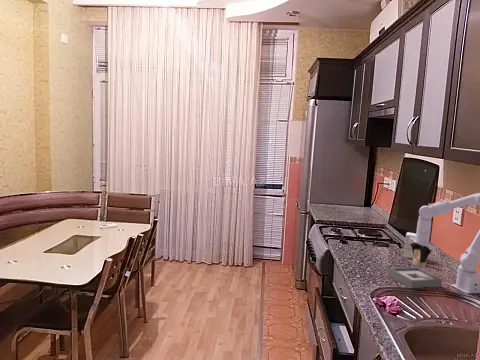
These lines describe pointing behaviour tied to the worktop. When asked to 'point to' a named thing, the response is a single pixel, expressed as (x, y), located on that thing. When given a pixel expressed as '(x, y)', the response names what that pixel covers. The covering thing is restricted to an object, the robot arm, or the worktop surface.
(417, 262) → the peg
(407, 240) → the supplement box
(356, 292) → the worktop surface
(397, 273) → the hole box
